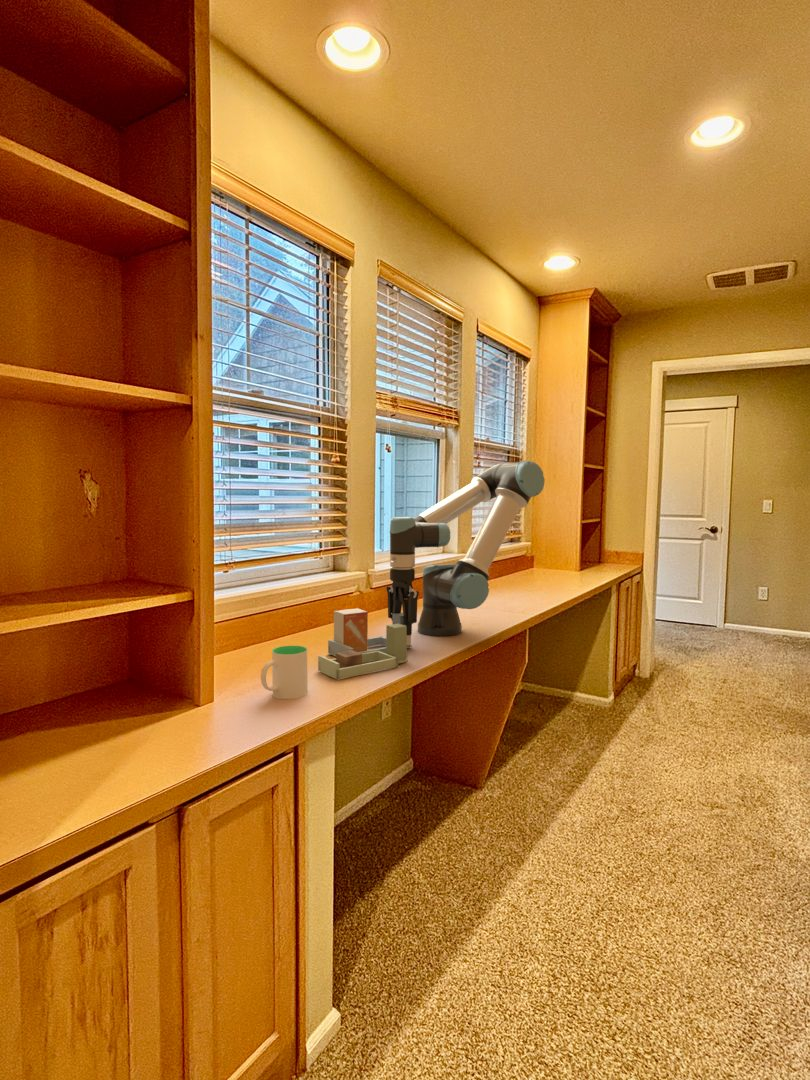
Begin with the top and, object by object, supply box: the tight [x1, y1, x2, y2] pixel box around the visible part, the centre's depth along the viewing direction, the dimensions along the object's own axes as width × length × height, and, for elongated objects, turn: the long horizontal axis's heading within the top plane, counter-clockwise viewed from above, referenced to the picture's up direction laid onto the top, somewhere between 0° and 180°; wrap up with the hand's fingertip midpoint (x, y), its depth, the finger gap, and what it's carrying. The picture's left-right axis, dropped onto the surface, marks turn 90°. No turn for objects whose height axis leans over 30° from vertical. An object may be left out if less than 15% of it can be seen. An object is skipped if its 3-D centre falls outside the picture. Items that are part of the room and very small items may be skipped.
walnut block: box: [335, 650, 363, 668], centre depth 157 cm, size 5×5×5 cm
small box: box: [333, 607, 369, 652], centre depth 174 cm, size 8×6×13 cm
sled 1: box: [327, 612, 413, 657], centre depth 176 cm, size 24×13×10 cm, turn 127°
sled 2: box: [317, 623, 409, 680], centre depth 160 cm, size 24×10×10 cm, turn 127°
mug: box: [260, 645, 309, 700], centre depth 138 cm, size 12×8×10 cm, turn 144°
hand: (401, 643), depth 183 cm, fingers closed on sled 1, 4 cm apart
